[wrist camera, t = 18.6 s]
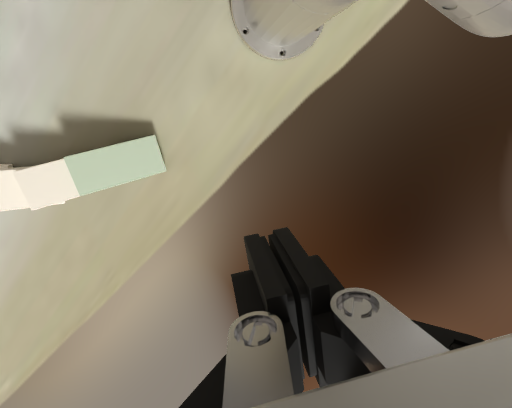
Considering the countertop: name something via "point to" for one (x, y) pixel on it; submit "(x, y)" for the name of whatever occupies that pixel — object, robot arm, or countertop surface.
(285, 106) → the countertop surface
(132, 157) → the domino
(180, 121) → the countertop surface
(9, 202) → the domino
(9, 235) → the countertop surface
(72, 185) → the domino
